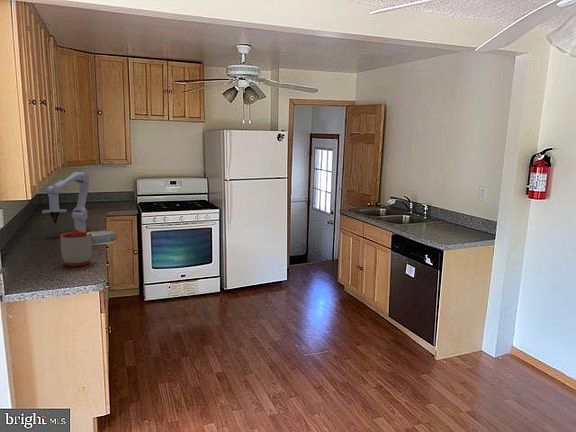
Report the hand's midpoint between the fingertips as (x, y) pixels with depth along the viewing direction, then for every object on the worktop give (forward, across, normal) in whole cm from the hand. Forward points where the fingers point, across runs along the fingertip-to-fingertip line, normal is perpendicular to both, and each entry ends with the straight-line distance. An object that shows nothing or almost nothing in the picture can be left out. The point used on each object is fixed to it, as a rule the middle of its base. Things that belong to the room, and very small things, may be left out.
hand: (55, 223), depth 307 cm
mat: (+10, +20, -23) cm, 32 cm away
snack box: (+7, +21, -14) cm, 26 cm away
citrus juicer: (+11, +10, -75) cm, 76 cm away
